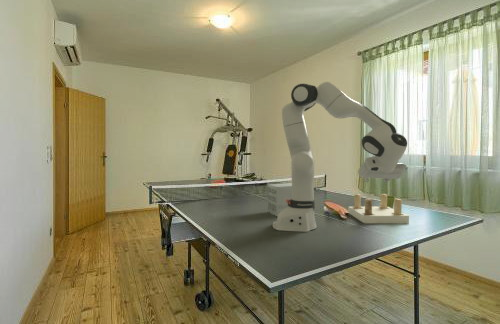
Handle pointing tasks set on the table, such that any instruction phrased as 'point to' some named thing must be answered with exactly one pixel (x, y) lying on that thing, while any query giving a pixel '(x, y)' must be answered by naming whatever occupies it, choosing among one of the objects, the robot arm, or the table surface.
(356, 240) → the table surface
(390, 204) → the plant pot
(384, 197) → the stool seat
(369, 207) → the stool leg
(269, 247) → the table surface
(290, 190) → the supplement box
